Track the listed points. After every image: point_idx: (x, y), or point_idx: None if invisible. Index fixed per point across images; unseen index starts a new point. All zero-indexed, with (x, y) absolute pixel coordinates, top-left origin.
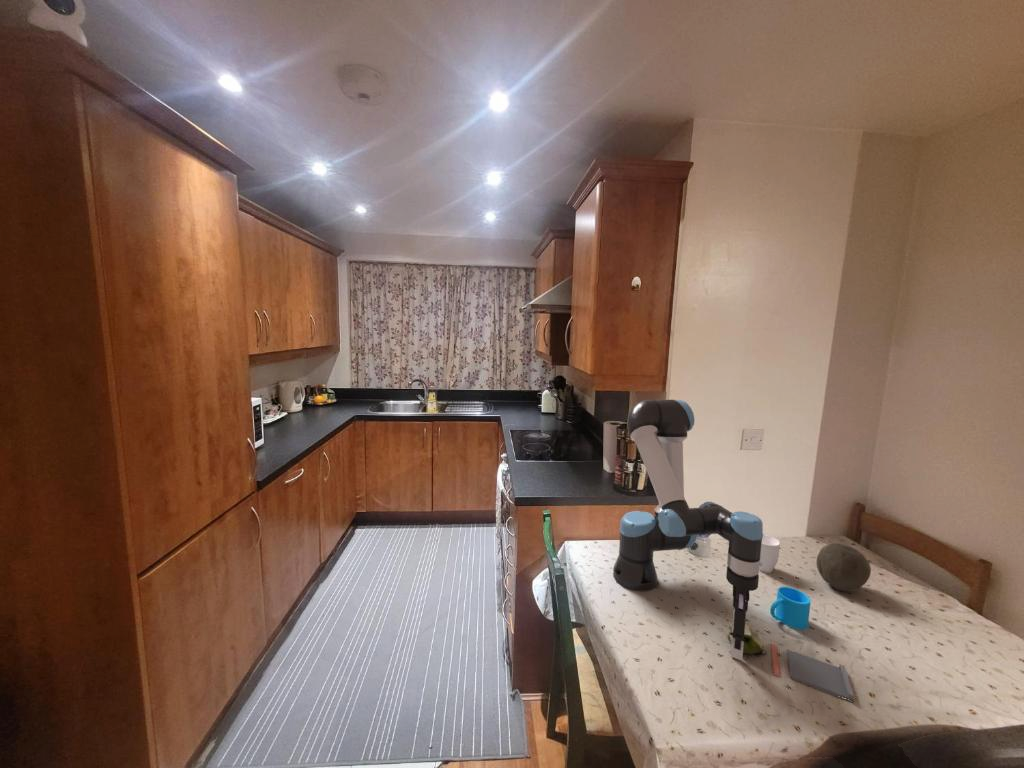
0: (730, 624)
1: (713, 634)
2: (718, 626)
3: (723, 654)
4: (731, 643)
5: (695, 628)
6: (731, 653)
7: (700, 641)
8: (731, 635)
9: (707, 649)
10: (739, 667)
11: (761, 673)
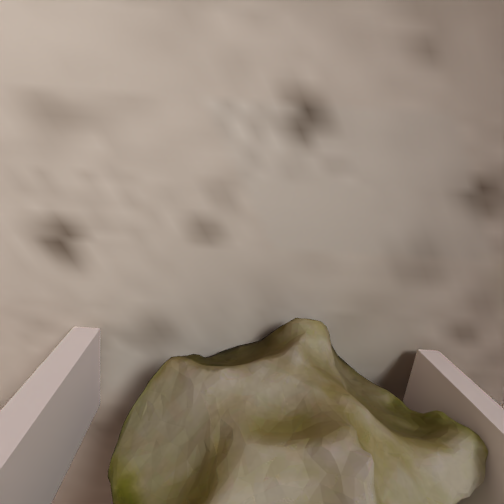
0: (344, 456)
1: (324, 198)
2: (453, 248)
3: (87, 269)
4: (174, 364)
5: (346, 12)
6: (57, 348)
7: (153, 59)
8: (233, 397)
9: (67, 128)
10: (4, 374)
11: None
